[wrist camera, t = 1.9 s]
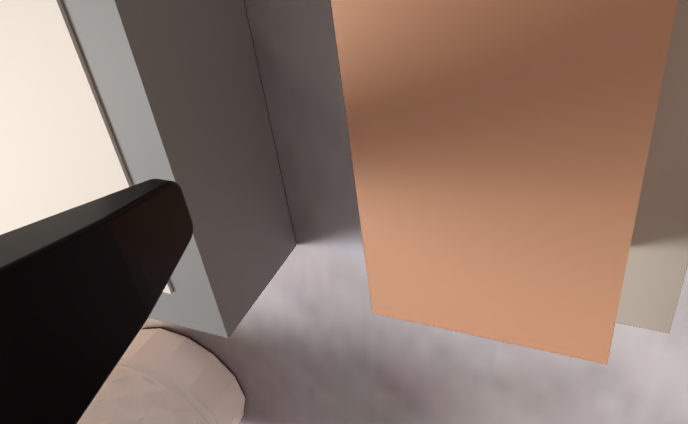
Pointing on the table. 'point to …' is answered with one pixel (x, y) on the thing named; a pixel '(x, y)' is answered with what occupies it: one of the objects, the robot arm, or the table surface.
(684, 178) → the grey slotted block
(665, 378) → the table surface
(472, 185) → the orange block
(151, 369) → the white cup
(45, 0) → the dock
